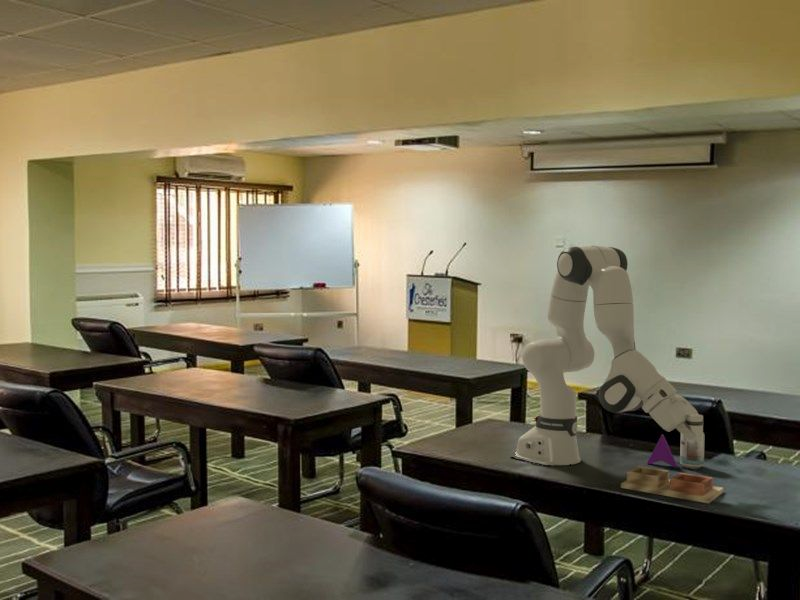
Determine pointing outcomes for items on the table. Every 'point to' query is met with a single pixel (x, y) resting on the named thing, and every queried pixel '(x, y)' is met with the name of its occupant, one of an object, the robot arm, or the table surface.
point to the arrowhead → (662, 453)
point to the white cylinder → (696, 444)
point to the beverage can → (682, 455)
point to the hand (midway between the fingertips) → (696, 436)
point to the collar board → (672, 484)
